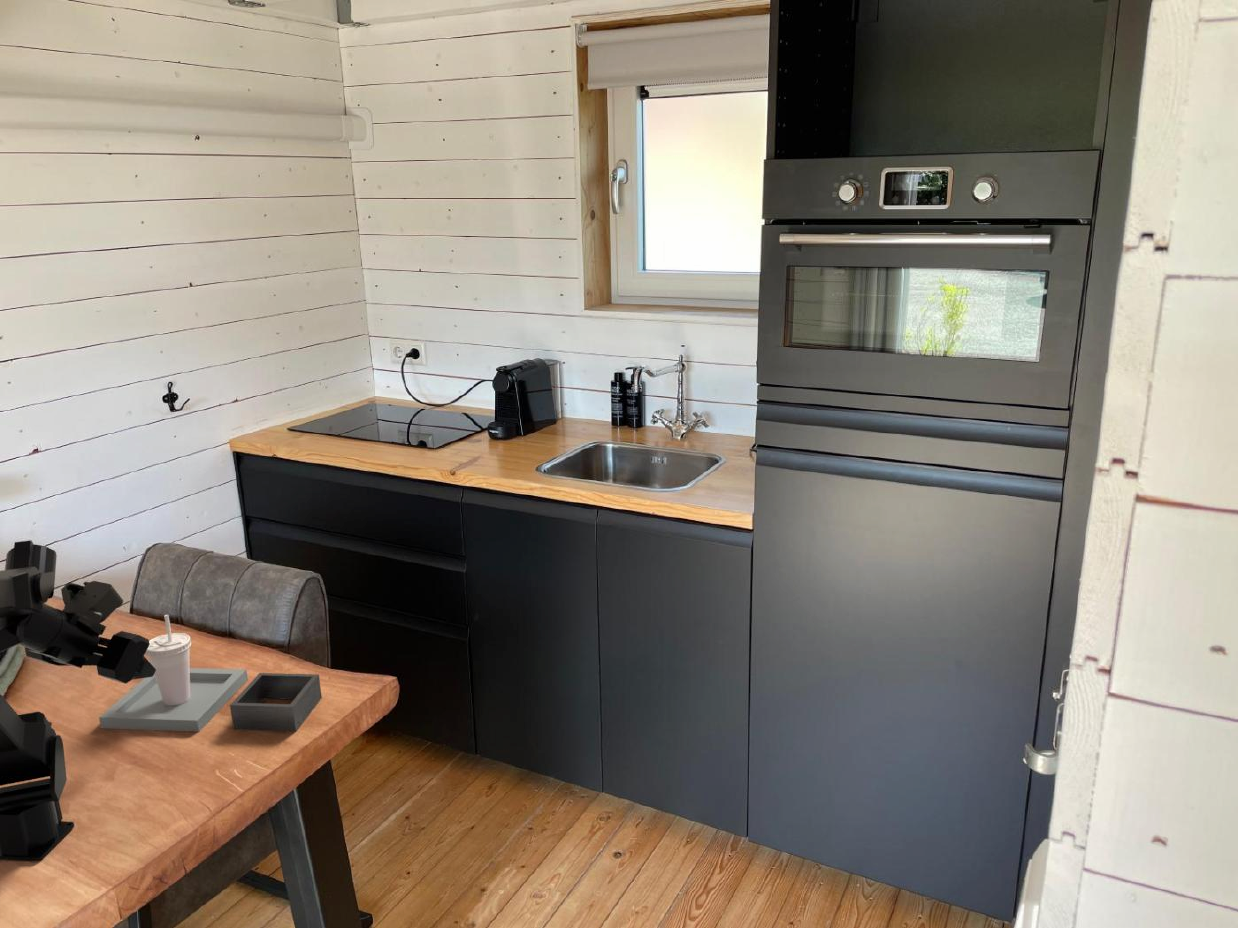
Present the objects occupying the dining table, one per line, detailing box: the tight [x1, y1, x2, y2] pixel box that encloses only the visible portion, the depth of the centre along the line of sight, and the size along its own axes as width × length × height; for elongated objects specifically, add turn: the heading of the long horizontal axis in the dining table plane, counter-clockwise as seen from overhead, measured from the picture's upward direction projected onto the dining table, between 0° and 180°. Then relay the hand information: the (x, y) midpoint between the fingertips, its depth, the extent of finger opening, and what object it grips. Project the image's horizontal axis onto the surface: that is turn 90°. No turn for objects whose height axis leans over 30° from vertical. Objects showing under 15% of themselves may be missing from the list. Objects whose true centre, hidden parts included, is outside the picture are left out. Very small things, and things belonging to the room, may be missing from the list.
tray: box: [98, 667, 248, 732], centre depth 142 cm, size 15×15×2 cm
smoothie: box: [144, 614, 192, 706], centre depth 140 cm, size 6×6×14 cm
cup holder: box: [229, 672, 322, 733], centre depth 138 cm, size 9×9×4 cm
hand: (130, 667), depth 133 cm, fingers open, 9 cm apart
